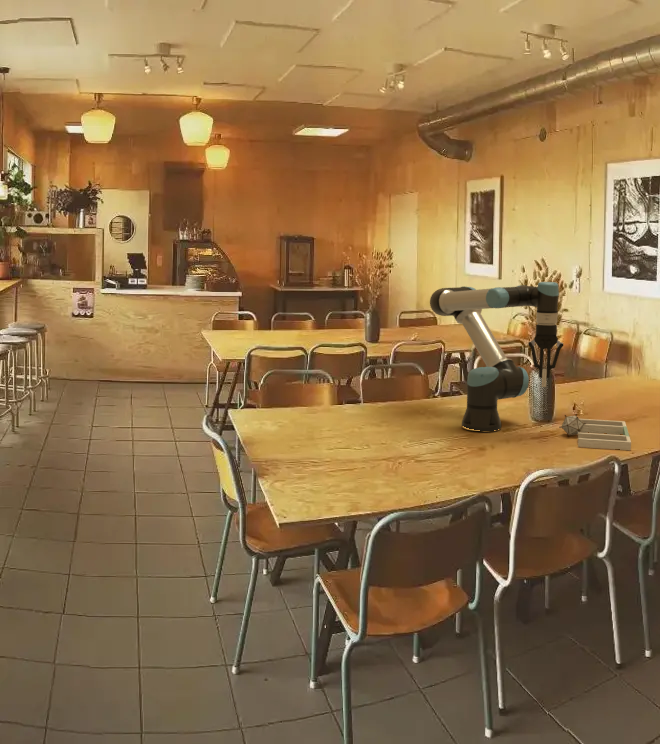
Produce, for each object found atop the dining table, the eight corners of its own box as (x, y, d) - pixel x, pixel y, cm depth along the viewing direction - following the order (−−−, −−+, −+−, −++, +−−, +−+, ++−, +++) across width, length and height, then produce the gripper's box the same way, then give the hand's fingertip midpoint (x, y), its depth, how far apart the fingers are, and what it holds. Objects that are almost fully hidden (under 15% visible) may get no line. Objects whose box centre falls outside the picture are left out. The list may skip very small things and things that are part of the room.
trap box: (578, 446, 292) (578, 438, 291) (576, 426, 322) (577, 418, 322) (630, 450, 287) (631, 442, 287) (624, 428, 317) (625, 421, 317)
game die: (576, 446, 307) (587, 429, 300) (554, 437, 308) (565, 420, 301) (579, 430, 313) (590, 413, 306) (558, 421, 314) (568, 404, 307)
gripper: (528, 324, 301) (525, 387, 305) (565, 325, 298) (561, 389, 302) (528, 322, 308) (526, 383, 313) (565, 323, 305) (562, 385, 309)
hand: (543, 386), depth 307 cm, fingers closed
